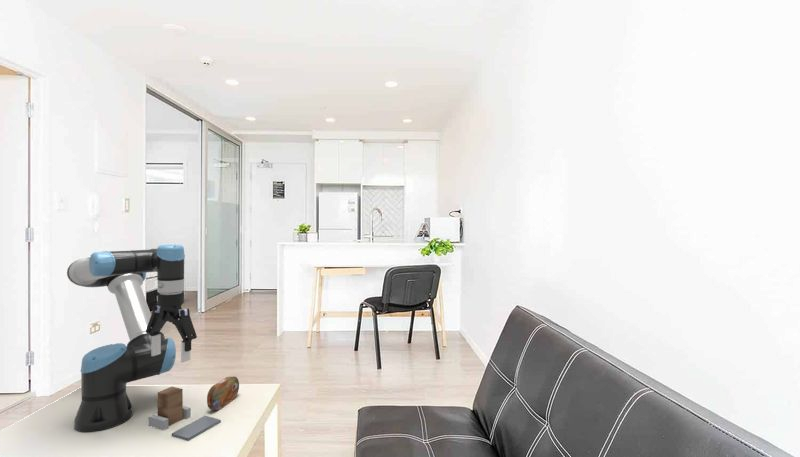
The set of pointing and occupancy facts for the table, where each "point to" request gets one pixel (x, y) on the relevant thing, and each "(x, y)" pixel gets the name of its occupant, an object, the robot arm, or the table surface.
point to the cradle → (166, 419)
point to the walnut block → (171, 404)
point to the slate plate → (196, 428)
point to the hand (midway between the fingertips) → (170, 358)
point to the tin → (222, 393)
